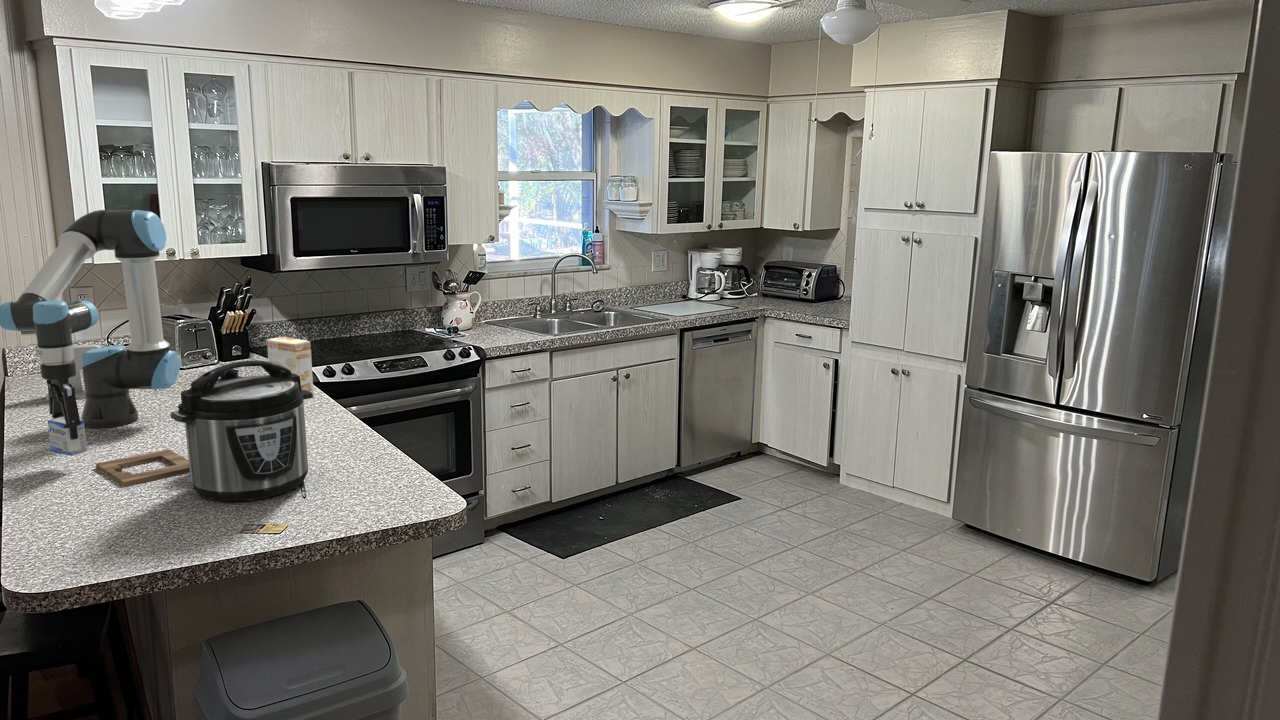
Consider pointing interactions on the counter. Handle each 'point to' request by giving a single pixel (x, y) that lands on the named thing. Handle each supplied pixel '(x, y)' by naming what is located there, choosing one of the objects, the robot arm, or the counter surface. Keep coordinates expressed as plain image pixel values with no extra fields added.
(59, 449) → the medicine box
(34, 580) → the counter surface
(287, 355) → the coffeecake box
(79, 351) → the phone holder
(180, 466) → the walnut pocket plate
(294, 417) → the pressure cooker
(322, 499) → the counter surface
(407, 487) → the counter surface
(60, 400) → the robot arm
